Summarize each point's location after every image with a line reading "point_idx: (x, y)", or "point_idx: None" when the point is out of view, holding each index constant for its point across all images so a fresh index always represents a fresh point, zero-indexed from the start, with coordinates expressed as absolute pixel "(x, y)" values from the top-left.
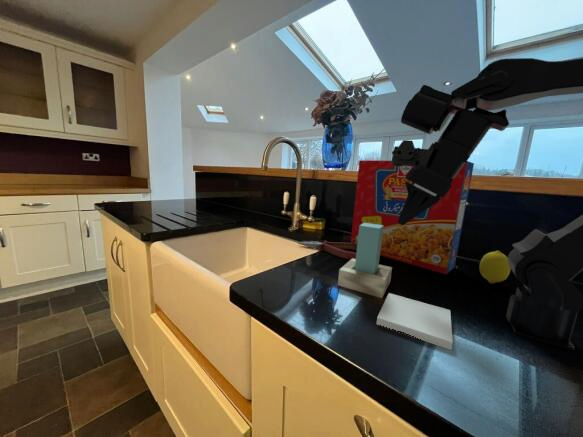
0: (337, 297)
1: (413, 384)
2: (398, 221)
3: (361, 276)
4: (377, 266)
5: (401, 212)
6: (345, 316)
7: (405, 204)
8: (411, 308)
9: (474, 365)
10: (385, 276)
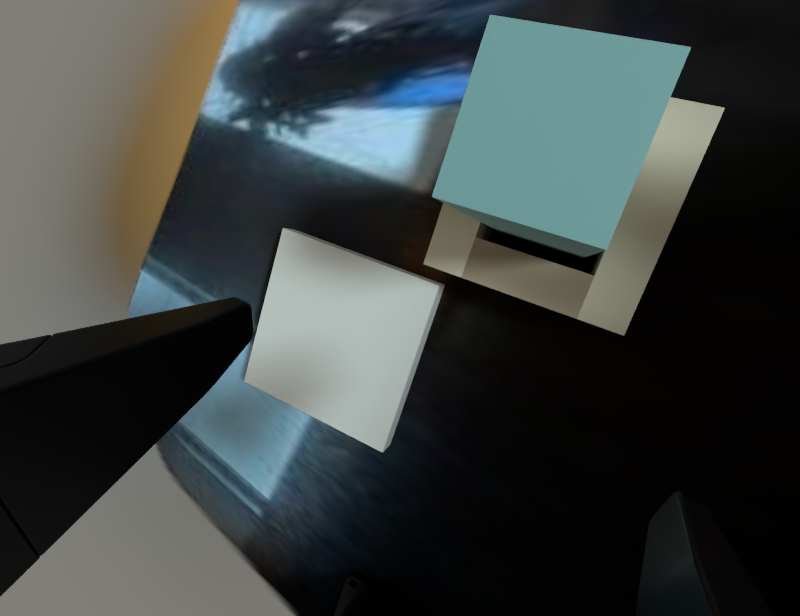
0: (400, 108)
1: (164, 273)
2: (228, 302)
3: None
4: (559, 248)
5: (139, 317)
6: (304, 147)
7: (30, 346)
8: (355, 335)
9: (230, 400)
10: (477, 277)
